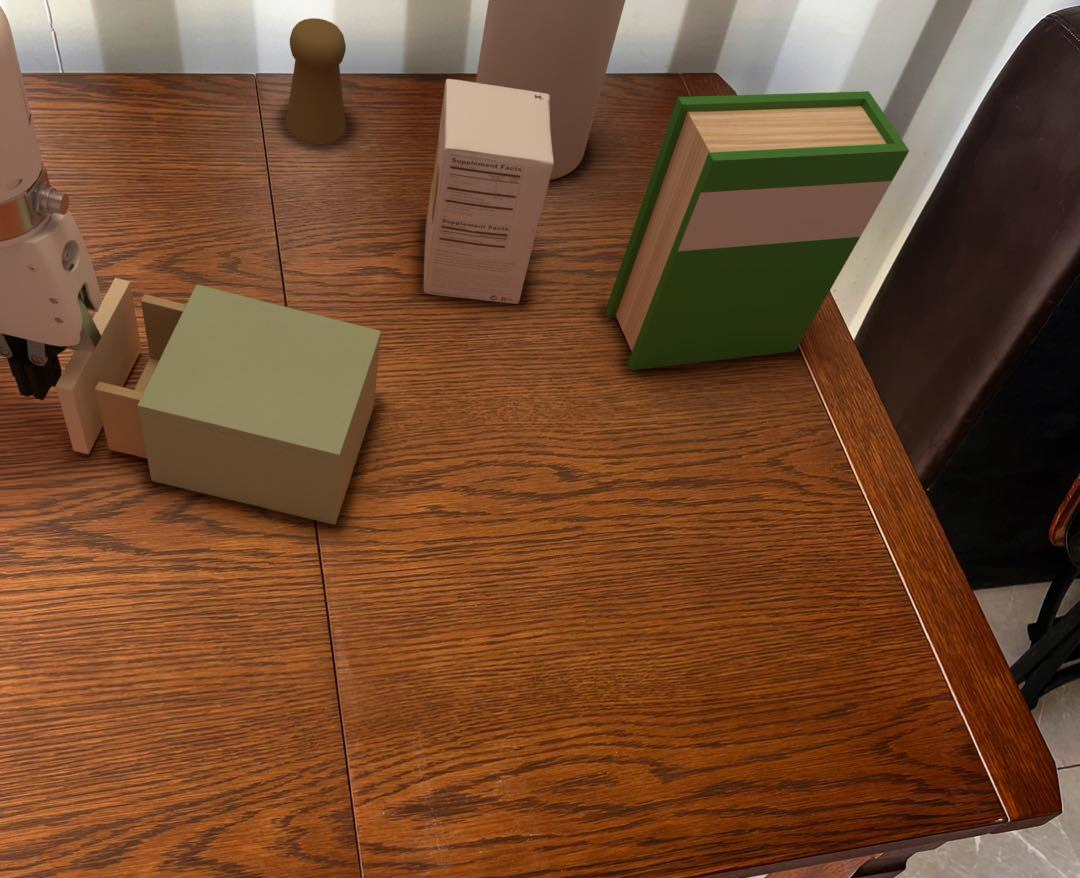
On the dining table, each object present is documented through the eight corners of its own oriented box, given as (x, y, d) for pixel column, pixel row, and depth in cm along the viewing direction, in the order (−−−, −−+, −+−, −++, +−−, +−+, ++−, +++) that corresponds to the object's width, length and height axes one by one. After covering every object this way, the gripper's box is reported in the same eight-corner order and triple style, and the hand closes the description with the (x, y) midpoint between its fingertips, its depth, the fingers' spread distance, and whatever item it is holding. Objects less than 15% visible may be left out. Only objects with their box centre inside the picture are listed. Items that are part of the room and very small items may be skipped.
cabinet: (151, 483, 85) (137, 405, 77) (204, 366, 92) (196, 283, 84) (335, 527, 86) (339, 454, 78) (373, 408, 93) (381, 330, 85)
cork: (321, 155, 109) (324, 56, 99) (273, 126, 109) (271, 26, 100) (358, 127, 112) (363, 29, 103) (310, 100, 113) (312, 0, 104)
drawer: (57, 447, 84) (38, 381, 77) (113, 342, 90) (99, 273, 84) (245, 492, 85) (242, 431, 78) (287, 385, 91) (287, 320, 85)
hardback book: (630, 372, 101) (713, 160, 81) (604, 313, 104) (678, 96, 84) (794, 353, 106) (909, 150, 87) (764, 298, 110) (868, 91, 90)
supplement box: (424, 226, 106) (444, 73, 92) (517, 237, 108) (550, 89, 94) (422, 297, 101) (443, 147, 87) (520, 308, 102) (556, 162, 89)
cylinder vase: (481, 185, 111) (524, -56, 90) (456, 106, 117) (491, -137, 96) (596, 184, 114) (663, -49, 94) (566, 107, 120) (622, -127, 100)
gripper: (125, 182, 69) (156, 372, 85) (-111, 121, 68) (-36, 325, 84) (79, 260, 65) (120, 445, 80) (-173, 197, 64) (-83, 397, 79)
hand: (40, 383), depth 82 cm, fingers closed
